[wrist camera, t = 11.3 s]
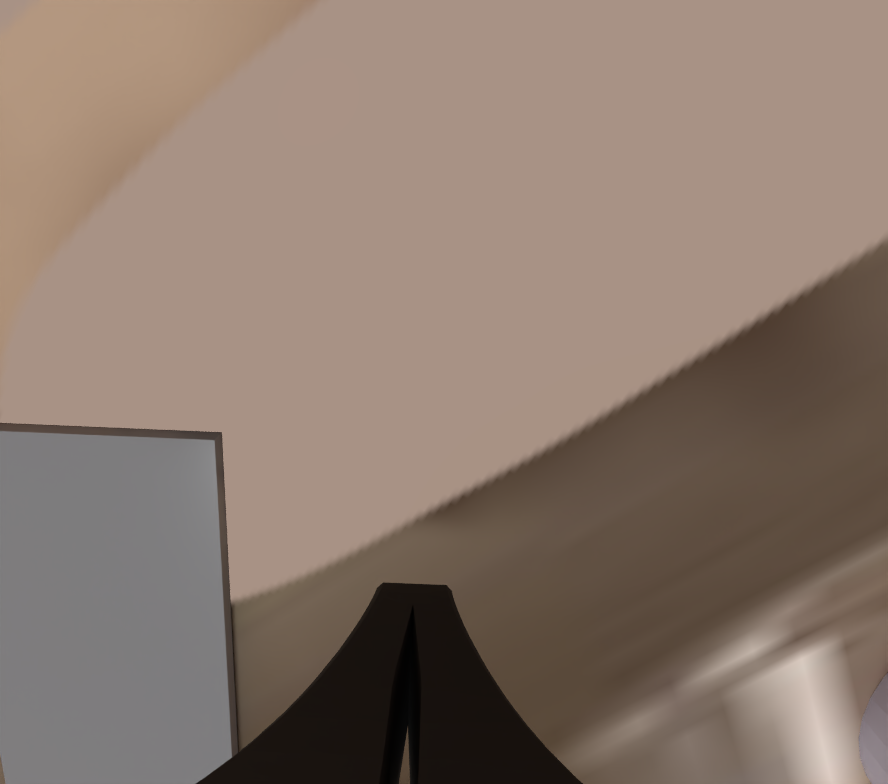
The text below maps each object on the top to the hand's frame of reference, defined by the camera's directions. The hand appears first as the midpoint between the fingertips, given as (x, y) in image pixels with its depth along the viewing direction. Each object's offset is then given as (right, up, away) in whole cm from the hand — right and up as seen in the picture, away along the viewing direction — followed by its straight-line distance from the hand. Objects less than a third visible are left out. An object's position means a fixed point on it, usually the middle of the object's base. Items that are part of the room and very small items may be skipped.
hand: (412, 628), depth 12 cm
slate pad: (-8, -2, +4) cm, 9 cm away
